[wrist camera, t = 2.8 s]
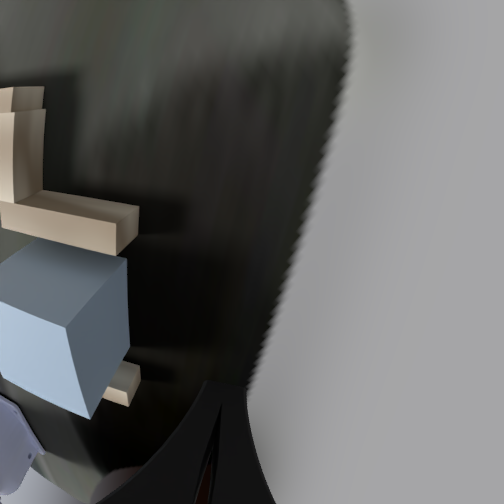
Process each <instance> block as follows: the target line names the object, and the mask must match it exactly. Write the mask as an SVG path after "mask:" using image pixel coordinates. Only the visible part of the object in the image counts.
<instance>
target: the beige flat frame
mask: <svg viewBox="0 0 504 504" xmlns="http://www.w3.org/2000/svg"><path fill="white" fill-rule="evenodd" d="M44 87H45V86H30V87H10V88H3V89H0V212H1V222H2V227H3V228H6V229H10V230H14V231H17V232H21V233H25V234H29V235H33V236H36V237H40V238H44V239H48V240H52V241H56V242H60V243H64V244H68V245H72V246H76V247H80V248H84V249H88V250H92V251H96V252H101V253H105V254H109V255H113V256H117V255H118V254H119V253H120V252H121V251H122V250H123V249H124V248H125V247H126V246H127V245H128V244H129V243H130V242H131V241H132V240H133V239H134V238H135V237H136V236H137V235H138V222H139V206H135V205H129V204H124V203H118V202H112V201H106V200H101V199H95V198H89V197H83V196H77V195H71V194H65V193H59V192H52V191H46V190H43V143H44V126H45V114H46V109H42V104H43V95H44ZM140 381H141V376H140V366H139V365H136V364H133V363H129V362H126V361H123V360H122V361H121V363H120V365H119V367H118V369H117V370H116V372H115V374H114V376H113V378H112V380H111V381H110V383H109V385H108V387H107V389H106V391H105V392H104V394H103V396H102V398H105V399H108V400H111V401H114V402H117V403H119V404H122V405H126V406H129V405H130V403H131V400H132V398H133V396H134V394H135V392H136V389H137V387H138V385H139V383H140Z"/></svg>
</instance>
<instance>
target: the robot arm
mask: <svg viewBox="0 0 504 504" xmlns="http://www.w3.org/2000/svg"><path fill="white" fill-rule="evenodd" d="M213 443H214V445H213ZM212 447H213V456H212V467H211V478H210V489H209V499H208V504H276V503H275V501H274V499H273V497H272V494H271V492H270V490H269V487H268V485H267V482H266V480H265V477H264V474H263V472H262V469H261V466H260V463H259V460H258V457H257V453H256V449H255V445H254V441H253V437H252V433H251V428H250V423H249V417H248V410H247V398H246V389H245V388H244V387H239V386H234V385H229V384H224V383H219V382H215V381H210V380H206V381H204V383H203V385H202V388H201V390H200V392H199V394H198V396H197V398H196V399H195V401H194V403H193V404H192V406H191V408H190V409H189V411H188V412H187V414H186V415H185V417H184V418H183V420H182V421H181V422H180V424H179V425H178V427H177V428H176V429H175V431H174V432H173V433H172V434H171V436H170V437H169V438H168V439H167V440H166V442H165V443H164V444H163V445H162V447H161V448H160V449H159V450H158V451H157V452H156V453H155V454H154V455H153V456H152V457H151V458H150V460H149V461H148V462H147V463H145V464H144V465H143V466H142V467H141V468H140V469H139V470H138V471H137V472H136V473H135V474H134V475H133V476H132V477H130V478H129V479H128V480H127V481H126V482H125V483H123V484H122V485H121V486H120V487H119V488H117V489H116V490H114V491H113V492H112V493H110V494H109V495H107V496H106V497H105V498H103V499H102V500H101V501H99V502H98V503H96V504H195V501H196V498H197V494H198V491H199V488H200V484H201V481H202V478H203V475H204V472H205V469H206V466H207V462H208V459H209V456H210V453H211V450H212ZM37 452H39V453H41V454H43V455H44V454H45V453H46V452H45V450H44V449H43V447H42V446H41V444H40V443H39V441H38V440H37V438H36V436H35V435H34V433H33V431H32V430H31V428H30V426H29V425H28V423H27V421H26V419H25V418H24V416H23V414H22V412H21V410H20V409H19V407H18V406H17V405H16V404H15V403H13V402H11V401H9V400H8V399H6V398H4V397H3V396H1V395H0V495H9V494H11V493H13V492H15V491H16V490H17V489H18V488H19V486H20V485H21V483H22V481H23V479H24V477H25V475H26V473H27V471H28V469H29V467H30V465H31V464H32V462H33V460H34V458H35V456H36V454H37ZM0 500H1V497H0ZM0 504H2V503H1V502H0Z"/></svg>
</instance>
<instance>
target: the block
mask: <svg viewBox="0 0 504 504" xmlns="http://www.w3.org/2000/svg"><path fill="white" fill-rule="evenodd" d="M129 347H130V338H129V322H128V299H127V258H122V257H118V256H113V255H109V254H105V253H101V252H96V251H92V250H88V249H84V248H80V247H76V246H72V245H68V244H64V243H60V242H56V241H52V240H48V239H44V238H40V237H38V238H37V239H35V240H34V241H32V242H31V243H29V244H28V245H26V246H25V247H23V248H22V249H20V250H19V251H18V252H16V253H15V254H13V255H12V256H10V257H9V258H8V259H6V260H5V261H3V262H2V263H1V264H0V372H1V374H2V376H3V378H5V379H7V380H8V381H10V382H12V383H14V384H16V385H17V386H19V387H21V388H23V389H25V390H27V391H29V392H31V393H32V394H34V395H36V396H38V397H40V398H43V399H45V400H47V401H49V402H51V403H53V404H55V405H57V406H60V407H62V408H64V409H66V410H69V411H71V412H73V413H76V414H78V415H80V416H83V417H85V418H88V419H91V417H92V415H93V413H94V411H95V409H96V407H97V406H98V404H99V402H100V400H101V398H102V396H103V394H104V392H105V391H106V389H107V387H108V385H109V383H110V381H111V380H112V378H113V376H114V374H115V372H116V370H117V369H118V367H119V365H120V363H121V361H122V360H123V358H124V356H125V354H126V353H127V351H128V349H129Z"/></svg>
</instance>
